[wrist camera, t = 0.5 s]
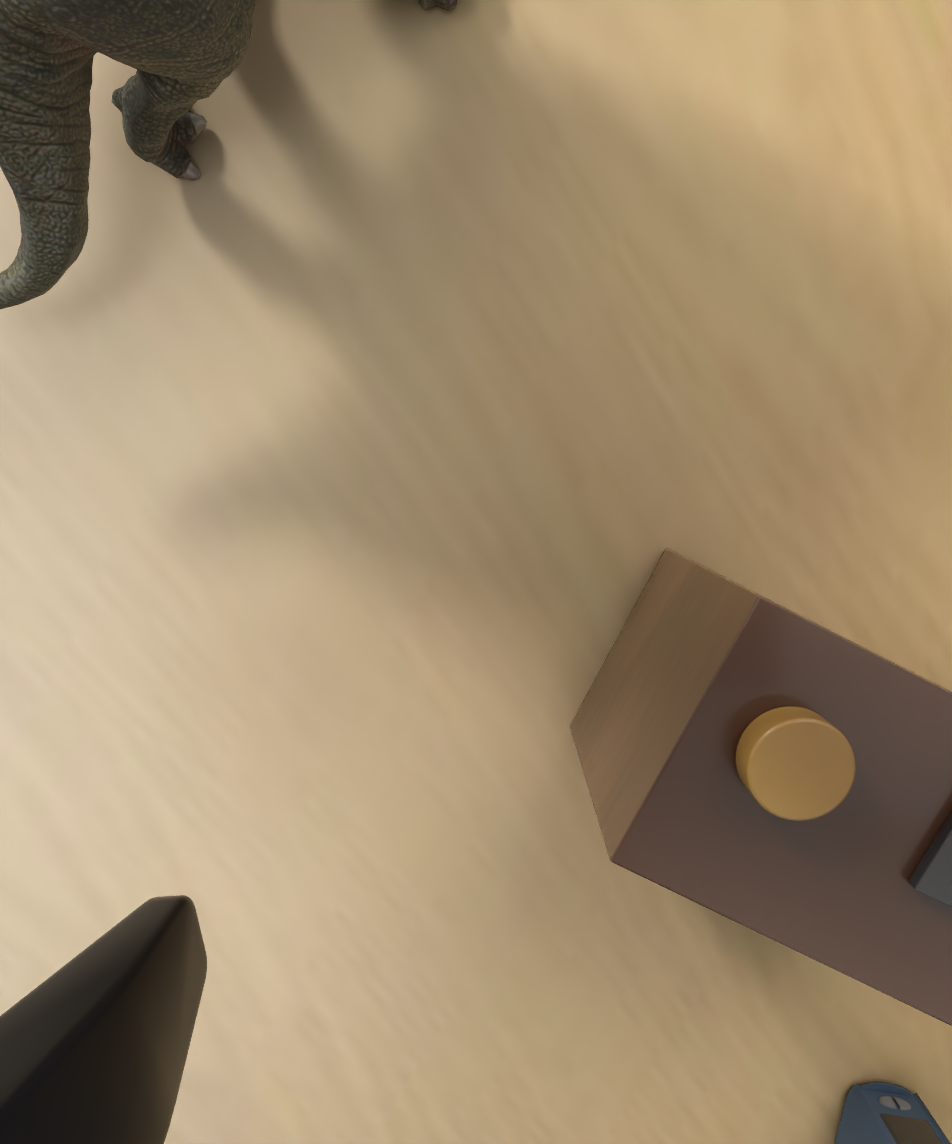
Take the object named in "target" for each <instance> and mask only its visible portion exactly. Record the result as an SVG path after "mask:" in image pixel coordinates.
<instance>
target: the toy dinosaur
mask: <svg viewBox="0 0 952 1144" xmlns="http://www.w3.org/2000/svg"><path fill="white" fill-rule="evenodd" d="M419 1H420V3H421V5H422V6H423V7H424V8H425V9H429V8H431V7H433V6H435V5H439V6H440V7H442V8H444V9H451V8H454V7H455V5H456V2H457V0H419ZM254 6H255V0H0V167H1V169H2V171H3V173H4V175H5V177H6V178H7V180H8V182H9V184H10V186H11V188H12V190H13V193H14V195H15V198H16V201H17V204H18V208H19V211H20V224H21V232H22V238H21V244H20V247H19V249H18V253H17V256H16V258H15V260H14V262H13V263H12V264H11V265H10V266H9V268H8V269H6V270H5V271H3V272H1V273H0V309H3V308H7V307H11V306H15V305H18V304H21V303H24V302H26V301H28V300H31V299H33V298H36V297H38V296H40V295H43V294H44V293H46V292H47V291H48V290H50V289H51V288H52V287H53V286H54V285H55V284H56V283H57V282H58V281H59V279H60V278H61V276H62V275H63V274H64V273H65V271H66V270H67V269H68V268H69V267H70V266H71V265H72V264H73V263H74V262H75V261H76V260H77V258H78V256H79V254H80V252H81V251H82V248H83V245H84V242H85V239H86V235H87V232H88V205H87V197H88V190H89V181H88V176H89V167H90V148H89V146H90V138H91V122H90V114H89V105H90V89H91V85H92V63H93V56H94V55H95V54H96V53H97V52H99V53H102V54H104V55H106V56H108V57H110V58H112V59H114V60H116V61H119V62H121V63H123V64H126V65H128V66H131V67H133V68H136V69H137V72H136V75H134V76H132V77H131V78H130V79H129V80H128V81H127V83H126V84H125V86H123V87H121V88H119V89H116V90H115V91H114V92H113V95H112V103H113V104H114V105H115V106H116V107H117V108H118V109H119V110H120V111H121V112H122V116H123V128H124V132H125V137H126V141H127V143H128V145H129V146H130V148H131V149H132V150H133V152H134V153H135V154H136V155H137V156H139V157H140V158H142V159H143V160H145V161H146V162H151V163H153V164H155V165H156V166H158V167H160V168H162V169H163V170H165V171H166V172H168V173H170V174H171V175H173V176H174V177H176V178H183V179H189V180H194V179H197V178H198V177H199V175H200V173H199V170H198V167H197V166H196V164H195V163H194V162H193V160H192V159H191V157H190V155H189V153H188V152H187V150H186V148H185V146H186V145H188V144H190V143H192V142H194V140H195V138H196V136H197V135H199V134H200V133H201V132H202V131H203V130H204V128H205V127H206V123H207V121H206V120H205V118H204V117H203V116H200V115H197V114H194V113H190V112H188V110H189V109H190V108H191V107H192V106H193V104H194V103H195V102H196V101H197V100H199V99H203V98H206V97H209V96H210V95H211V94H212V93H213V92H214V91H215V89H216V88H217V87H218V86H219V84H220V83H221V82H222V80H223V79H225V78H226V77H228V76H229V75H230V74H231V73H232V72H233V70H234V69H235V68H236V67H237V65H238V64H239V62H240V61H241V59H242V57H243V55H244V53H245V51H246V47H247V43H248V40H249V37H250V33H251V16H252V13H253V9H254Z"/></svg>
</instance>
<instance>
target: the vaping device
mask: <svg viewBox="0 0 952 1144" xmlns="http://www.w3.org/2000/svg"><path fill="white" fill-rule="evenodd" d="M835 1144H951V1143H950V1142H949V1140H948V1139H947V1137H946V1136H945V1134H944V1133H943V1131H942V1130H941V1128H940V1127H939V1126H938V1124H937V1123H936V1121H935V1120H934V1118H933V1117H932V1115H931V1114H930V1112H929V1111H928V1109H927V1108H926V1106H925V1105H924V1103H923V1102H922V1100H921V1099H920V1097H919V1096H918V1094H917V1093H915V1094H912V1093H911V1092H910V1091H908V1090H907V1089H905V1088H903V1087H900V1086H898V1085H895V1084H890V1083H882V1082H874V1083H867V1084H863V1085H860V1086H859V1085H858V1084H855V1085H854V1086H853V1087H852V1088H851V1089H850V1091H849V1093H848V1095H847V1097H846V1101H845V1105H844V1109H843V1113H842V1117H841V1120H840V1124H839V1128H838V1132H837V1136H836V1140H835Z"/></svg>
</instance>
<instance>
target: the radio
mask: <svg viewBox="0 0 952 1144" xmlns="http://www.w3.org/2000/svg"><path fill="white" fill-rule="evenodd" d="M570 729H571V732H572V735H573V738H574V742H575V745H576V748H577V752H578V755H579V758H580V762H581V765H582V768H583V772H584V775H585V778H586V781H587V785H588V788H589V791H590V795H591V798H592V801H593V805H594V808H595V811H596V815H597V818H598V821H599V825H600V828H601V831H602V834H603V838H604V841H605V844H606V848H607V851H608V854H609V858H610V861H611V862H613V863H615V864H617V865H619V866H621V867H623V868H626V869H628V870H630V871H632V872H634V873H636V874H638V875H640V876H642V877H644V878H646V879H648V880H650V881H652V882H655V883H657V884H659V885H661V886H663V887H665V888H667V889H669V890H671V891H673V892H675V893H677V894H679V895H681V896H684V897H686V898H688V899H690V900H692V901H694V902H696V903H698V904H700V905H702V906H704V907H706V908H708V909H711V910H713V911H715V912H717V913H719V914H721V915H723V916H725V917H727V918H729V919H731V920H733V921H735V922H737V923H740V924H742V925H744V926H746V927H748V928H750V929H752V930H754V931H756V932H758V933H760V934H762V935H764V936H767V937H769V938H771V939H773V940H775V941H777V942H779V943H781V944H783V945H785V946H787V947H789V948H791V949H793V950H796V951H798V952H800V953H802V954H804V955H806V956H808V957H810V958H812V959H814V960H816V961H818V962H820V963H823V964H825V965H827V966H829V967H831V968H833V969H835V970H837V971H839V972H841V973H843V974H845V975H847V976H849V977H852V978H854V979H856V980H858V981H860V982H862V983H864V984H866V985H868V986H870V987H872V988H874V989H876V990H879V991H881V992H883V993H885V994H887V995H889V996H891V997H893V998H895V999H897V1000H899V1001H901V1002H903V1003H905V1004H908V1005H910V1006H912V1007H914V1008H916V1009H918V1010H920V1011H922V1012H924V1013H926V1014H928V1015H930V1016H932V1017H935V1018H937V1019H939V1020H941V1021H943V1022H945V1023H947V1024H949V1025H951V1026H952V692H950V691H948V690H946V689H944V688H942V687H940V686H938V685H936V684H934V683H932V682H930V681H928V680H926V679H925V678H923V677H921V676H919V675H917V674H915V673H913V672H911V671H909V670H907V669H905V668H903V667H901V666H899V665H897V664H895V663H893V662H891V661H889V660H887V659H885V658H883V657H881V656H879V655H877V654H875V653H873V652H871V651H869V650H867V649H865V648H863V647H861V646H859V645H857V644H855V643H853V642H851V641H849V640H847V639H846V638H844V637H842V636H840V635H838V634H836V633H834V632H832V631H830V630H828V629H826V628H824V627H822V626H820V625H818V624H816V623H814V622H812V621H810V620H808V619H806V618H804V617H802V616H800V615H798V614H796V613H794V612H792V611H790V610H788V609H786V608H784V607H782V606H780V605H778V604H776V603H774V602H772V601H770V600H768V599H767V598H765V597H763V596H761V595H759V594H757V593H755V592H753V591H751V590H749V589H747V588H745V587H743V586H741V585H739V584H737V583H735V582H733V581H731V580H729V579H727V578H725V577H723V576H721V575H719V574H717V573H715V572H713V571H711V570H709V569H707V568H705V567H703V566H701V565H699V564H697V563H695V562H693V561H691V560H690V559H688V558H686V557H684V556H682V555H680V554H678V553H676V552H674V551H672V550H670V549H666V550H665V551H664V553H663V555H662V557H661V559H660V561H659V562H658V564H657V566H656V568H655V570H654V572H653V574H652V575H651V577H650V579H649V581H648V583H647V585H646V587H645V588H644V590H643V592H642V594H641V596H640V598H639V599H638V601H637V603H636V605H635V607H634V609H633V611H632V612H631V614H630V616H629V618H628V620H627V622H626V624H625V625H624V627H623V629H622V631H621V633H620V635H619V636H618V638H617V640H616V642H615V644H614V646H613V648H612V649H611V651H610V653H609V655H608V657H607V659H606V661H605V662H604V664H603V666H602V668H601V670H600V672H599V674H598V675H597V677H596V679H595V681H594V683H593V685H592V686H591V688H590V690H589V692H588V694H587V696H586V698H585V699H584V701H583V703H582V705H581V707H580V709H579V711H578V712H577V714H576V716H575V718H574V720H573V722H572V724H571V725H570Z"/></svg>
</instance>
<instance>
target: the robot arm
mask: <svg viewBox="0 0 952 1144" xmlns="http://www.w3.org/2000/svg"><path fill="white" fill-rule="evenodd" d="M206 972H207V956H206V951H205V947H204V942H203V938H202V934H201V930H200V926H199V922H198V918H197V913H196V909H195V906H194V903H193V901H192V900H191V899H190V898H189V897H187V896H184V895H180V896H165V897H155V898H152V899H149V900H148V901H147V902H145V903H144V904H142V905H141V906H140V907H139V908H137V909H136V910H135V911H133V912H132V913H131V914H130V915H128V916H127V917H126V918H125V919H123V920H122V921H121V922H119V923H118V924H117V925H116V926H114V927H113V928H112V929H111V930H109V931H108V932H107V933H106V934H104V935H103V936H102V937H100V938H99V939H98V940H97V941H95V942H94V943H93V944H92V945H90V946H89V947H88V948H86V949H85V950H84V951H83V952H81V953H80V954H79V955H78V956H76V957H75V958H74V959H72V960H71V961H70V962H69V963H67V964H66V965H65V966H64V967H62V968H61V969H60V970H58V971H57V972H56V973H55V974H53V975H52V976H51V977H50V978H48V979H47V980H46V981H44V982H43V983H42V984H41V985H39V986H38V987H37V988H36V989H34V990H33V991H32V992H30V993H29V994H28V995H27V996H25V997H24V998H23V999H22V1000H20V1001H19V1002H18V1003H16V1004H15V1005H14V1006H13V1007H11V1008H10V1009H9V1010H8V1011H6V1012H5V1013H4V1014H2V1015H1V1016H0V1144H164V1141H165V1138H166V1135H167V1132H168V1129H169V1126H170V1122H171V1118H172V1114H173V1111H174V1107H175V1103H176V1099H177V1095H178V1091H179V1087H180V1083H181V1078H182V1074H183V1070H184V1066H185V1062H186V1058H187V1054H188V1049H189V1045H190V1041H191V1037H192V1033H193V1029H194V1025H195V1020H196V1016H197V1012H198V1008H199V1004H200V1000H201V996H202V991H203V987H204V983H205V979H206Z"/></svg>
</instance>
